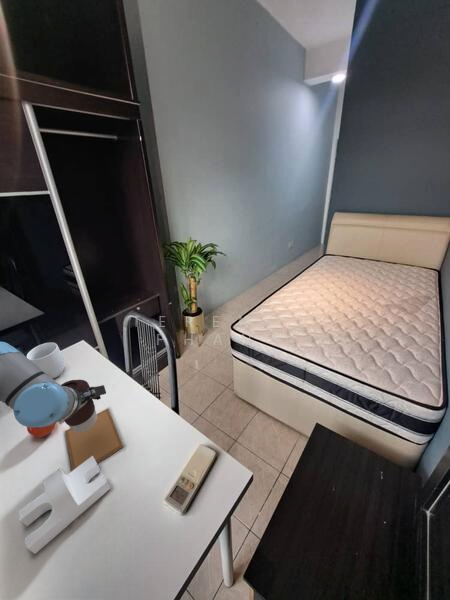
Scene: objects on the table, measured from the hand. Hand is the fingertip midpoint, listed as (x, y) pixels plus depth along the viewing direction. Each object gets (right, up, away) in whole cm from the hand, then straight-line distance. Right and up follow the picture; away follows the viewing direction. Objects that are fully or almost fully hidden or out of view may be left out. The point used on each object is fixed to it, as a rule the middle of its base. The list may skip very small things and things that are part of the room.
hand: (77, 402), depth 76 cm
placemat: (+2, -14, +5) cm, 15 cm away
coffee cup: (+2, -7, +1) cm, 7 cm away
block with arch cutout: (+4, -22, -11) cm, 25 cm away
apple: (-16, -13, +9) cm, 22 cm away
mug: (-31, -1, +32) cm, 44 cm away
